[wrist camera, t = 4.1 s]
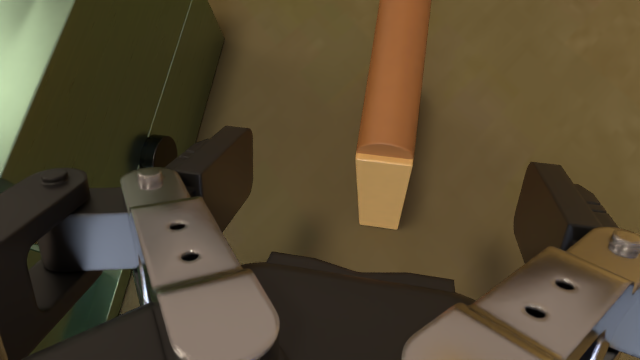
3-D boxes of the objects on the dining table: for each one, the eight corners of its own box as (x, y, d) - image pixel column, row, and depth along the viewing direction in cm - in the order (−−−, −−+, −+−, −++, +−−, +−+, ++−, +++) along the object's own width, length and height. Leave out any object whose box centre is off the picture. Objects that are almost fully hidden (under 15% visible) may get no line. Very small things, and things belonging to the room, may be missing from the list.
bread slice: (397, 230, 24) (415, 154, 15) (359, 224, 25) (354, 147, 16) (412, 103, 27) (435, -28, 18) (377, 99, 27) (382, -30, 18)
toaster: (175, 259, 25) (20, 180, 14) (-3, 230, 27) (-272, 139, 15) (235, 39, 30) (155, -153, 18) (80, 26, 31) (-80, -159, 20)
